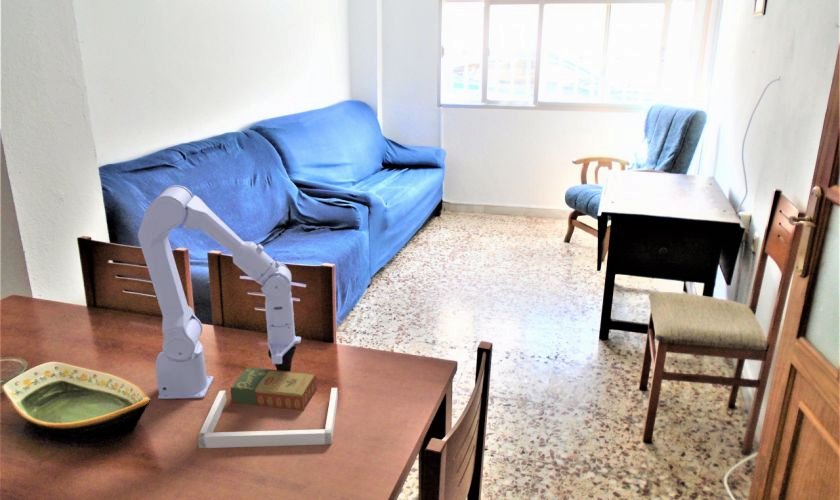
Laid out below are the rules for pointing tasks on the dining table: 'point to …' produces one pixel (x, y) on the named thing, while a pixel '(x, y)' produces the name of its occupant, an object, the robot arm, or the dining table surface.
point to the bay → (264, 437)
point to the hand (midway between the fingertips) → (284, 376)
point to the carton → (274, 388)
